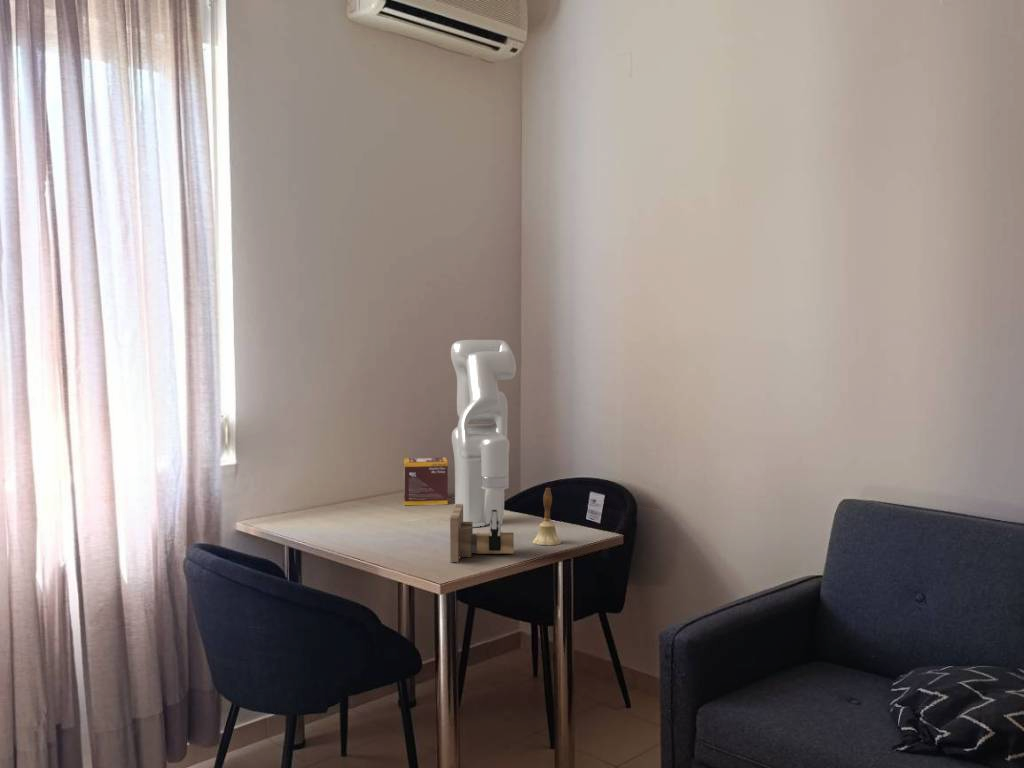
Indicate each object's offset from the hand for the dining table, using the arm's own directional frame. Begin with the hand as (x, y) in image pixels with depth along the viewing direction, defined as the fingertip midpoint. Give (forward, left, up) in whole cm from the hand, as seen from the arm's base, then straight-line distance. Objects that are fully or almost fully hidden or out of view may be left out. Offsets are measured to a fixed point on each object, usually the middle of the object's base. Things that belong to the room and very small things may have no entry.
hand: (495, 547), depth 259 cm
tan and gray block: (0, -2, -1) cm, 2 cm away
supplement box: (-77, -28, -2) cm, 81 cm away
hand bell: (-14, +15, -2) cm, 20 cm away
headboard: (0, -8, -2) cm, 8 cm away
